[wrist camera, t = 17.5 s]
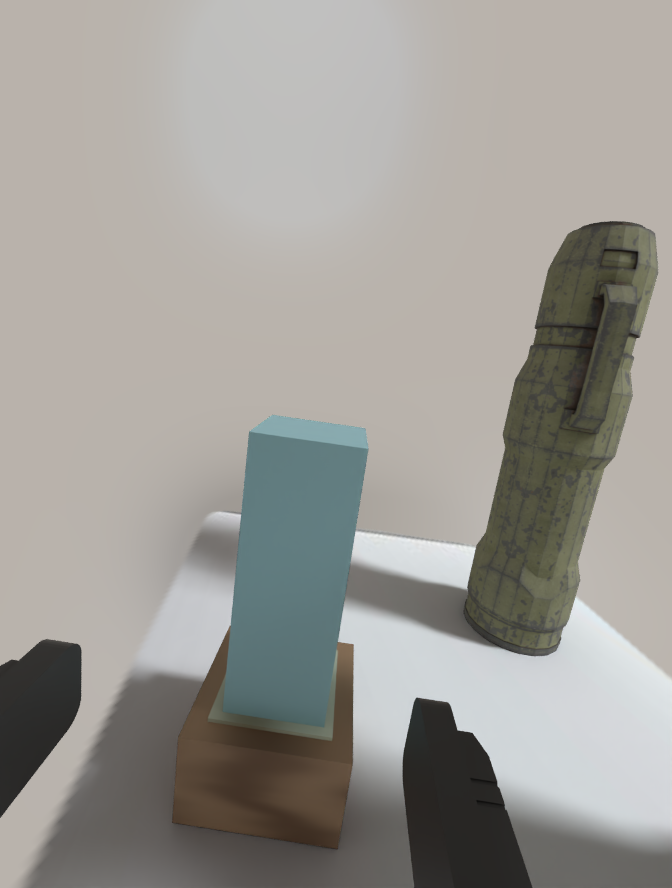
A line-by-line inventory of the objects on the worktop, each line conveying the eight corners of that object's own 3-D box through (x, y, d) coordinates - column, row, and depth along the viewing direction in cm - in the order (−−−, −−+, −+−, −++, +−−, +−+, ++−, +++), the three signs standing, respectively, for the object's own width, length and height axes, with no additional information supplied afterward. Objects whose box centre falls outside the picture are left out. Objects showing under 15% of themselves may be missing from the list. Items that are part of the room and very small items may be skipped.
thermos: (480, 660, 34) (594, 195, 27) (451, 583, 46) (525, 243, 38) (589, 678, 34) (734, 212, 27) (532, 596, 46) (622, 256, 38)
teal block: (330, 655, 25) (365, 428, 22) (324, 727, 20) (368, 448, 17) (248, 642, 25) (272, 414, 22) (222, 711, 20) (249, 431, 17)
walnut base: (342, 709, 28) (353, 641, 27) (337, 849, 20) (353, 760, 19) (223, 691, 28) (230, 622, 27) (172, 822, 20) (178, 733, 19)
